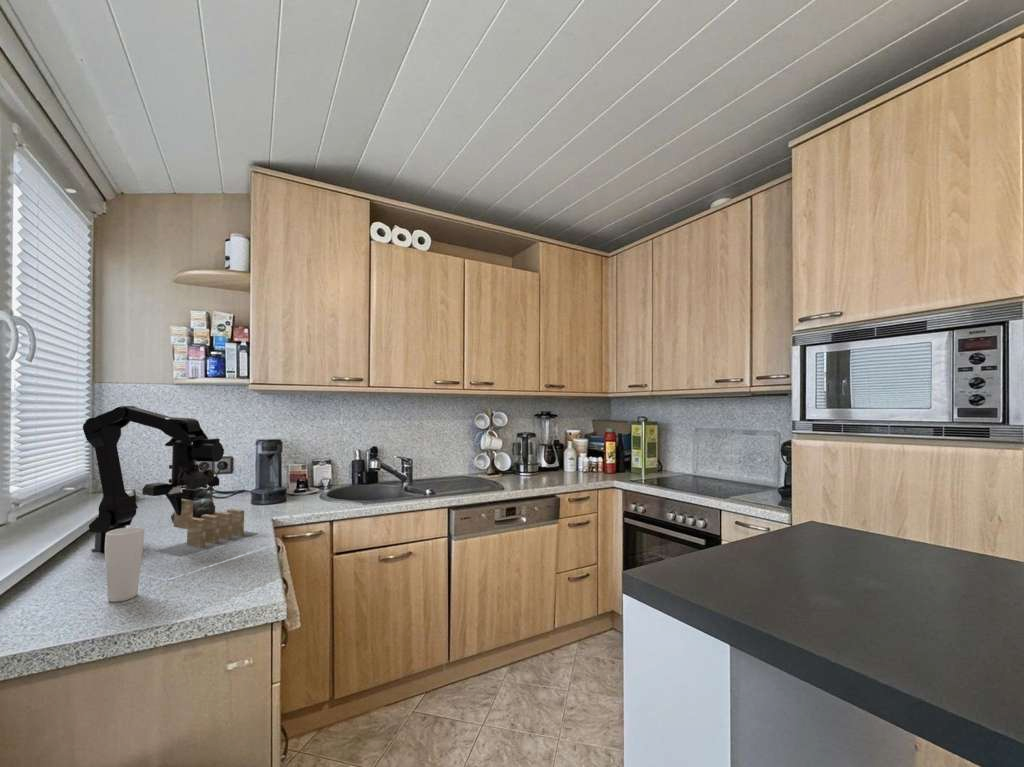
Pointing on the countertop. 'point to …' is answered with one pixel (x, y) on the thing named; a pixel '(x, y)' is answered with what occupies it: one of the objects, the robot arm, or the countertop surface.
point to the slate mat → (186, 549)
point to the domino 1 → (184, 515)
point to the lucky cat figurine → (202, 503)
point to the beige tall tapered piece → (123, 562)
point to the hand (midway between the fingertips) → (182, 514)
